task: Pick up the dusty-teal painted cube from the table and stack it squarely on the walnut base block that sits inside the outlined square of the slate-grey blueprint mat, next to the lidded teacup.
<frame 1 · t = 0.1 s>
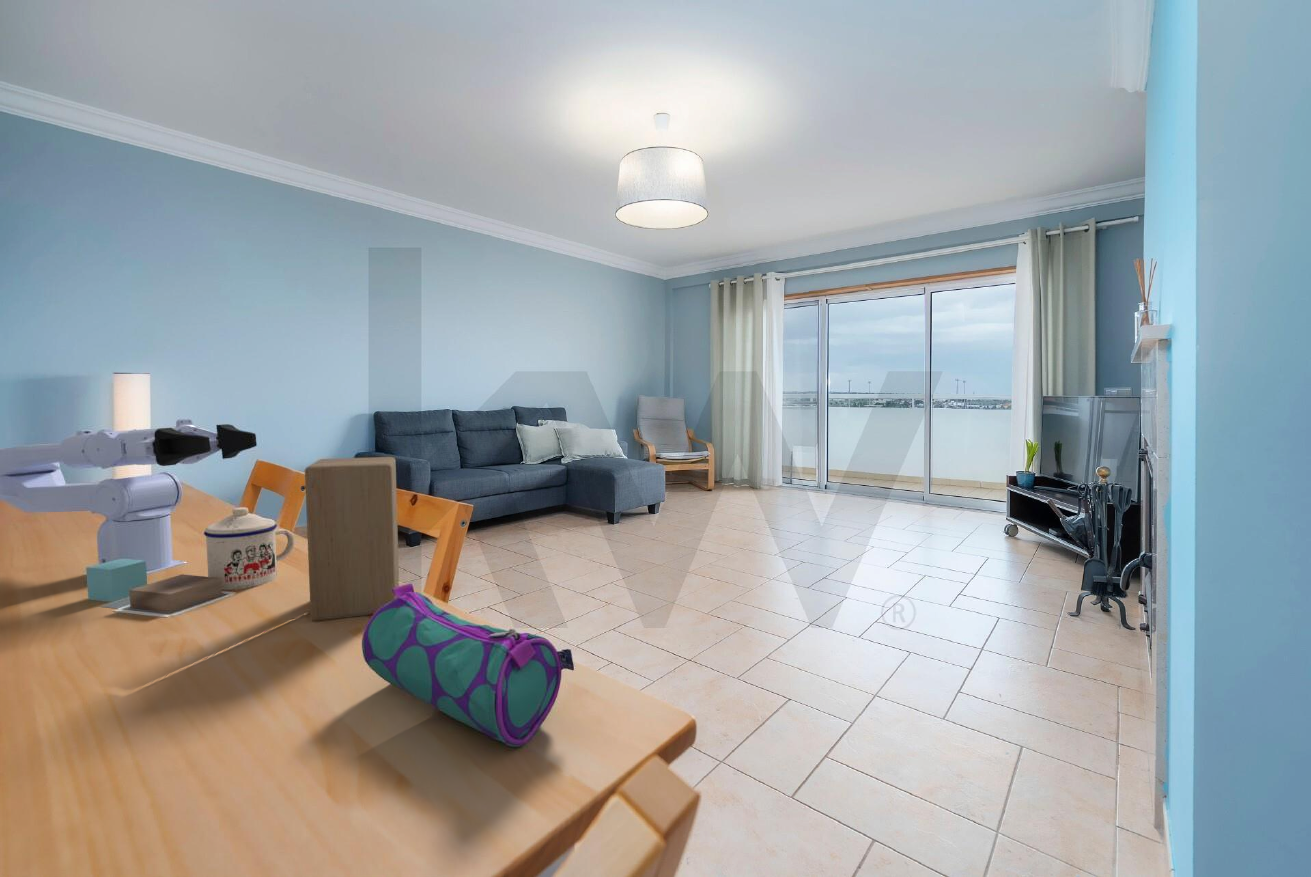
hand: (231, 442, 91), 22 cm above the table, tool horizontal, fingers open, 7 cm apart
teal cube: (118, 598, 84), on the table
teacup with lid: (254, 582, 92), on the table
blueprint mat: (166, 603, 82), on the table
wooden block: (358, 606, 82), on the table
walnut base: (177, 601, 82), resting on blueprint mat
pencil case: (461, 708, 56), on the table
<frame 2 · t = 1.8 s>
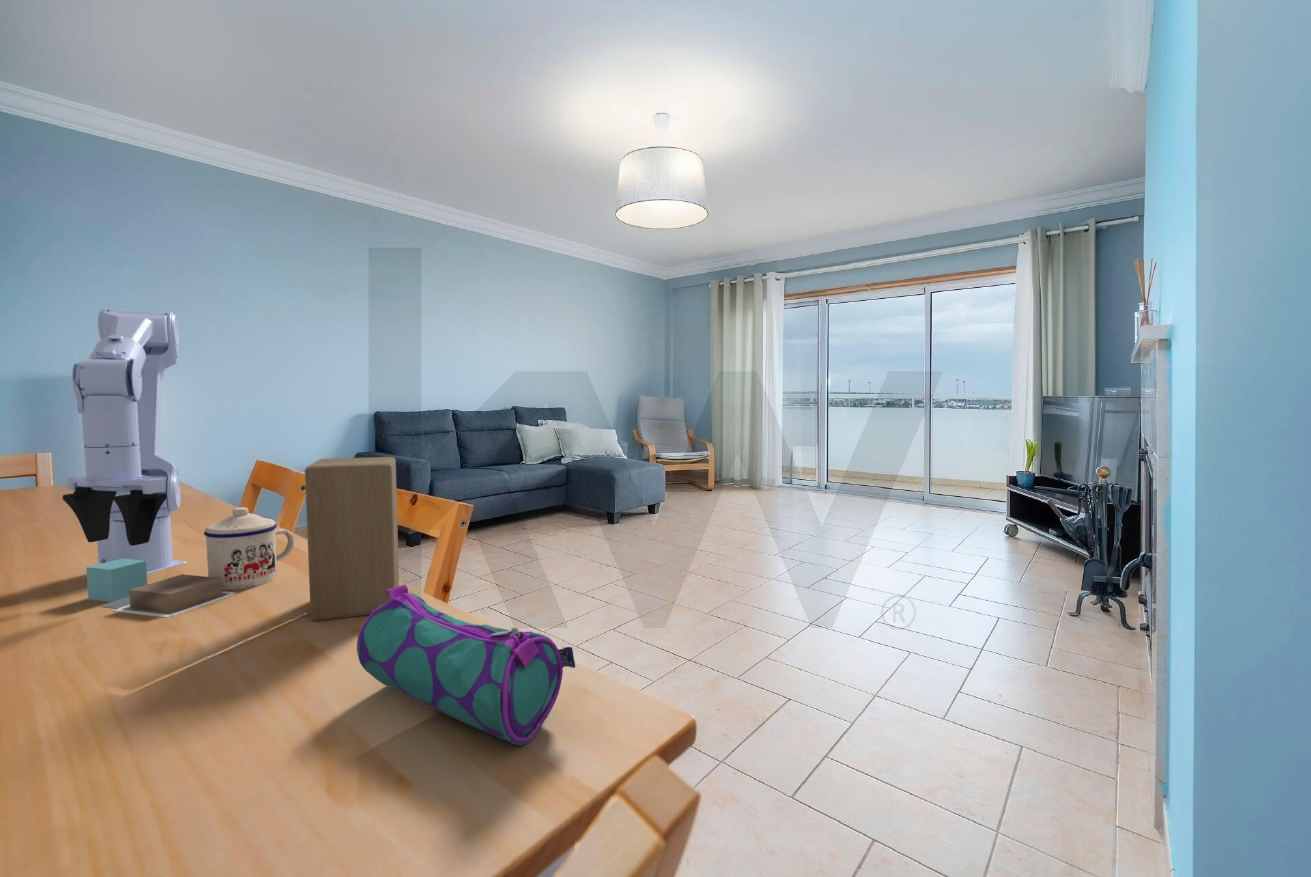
hand: (118, 542, 83), 8 cm above the table, tool pointing down, fingers open, 7 cm apart
nothing on the table moved.
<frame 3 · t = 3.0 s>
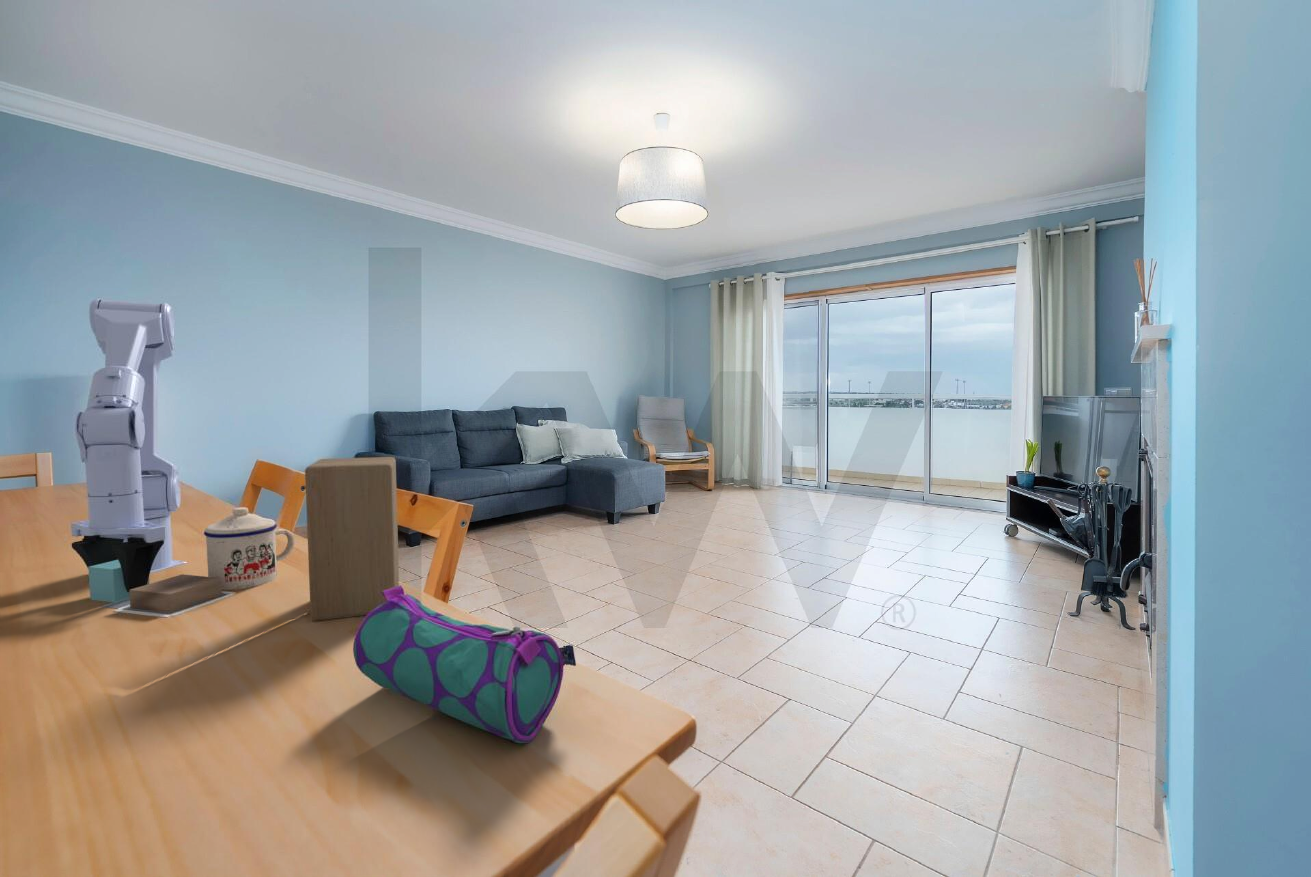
hand: (121, 588, 84), 1 cm above the table, tool pointing down, fingers open, 5 cm apart
teal cube: (120, 598, 84), on the table, touching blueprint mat, gripper
everything else where it was.
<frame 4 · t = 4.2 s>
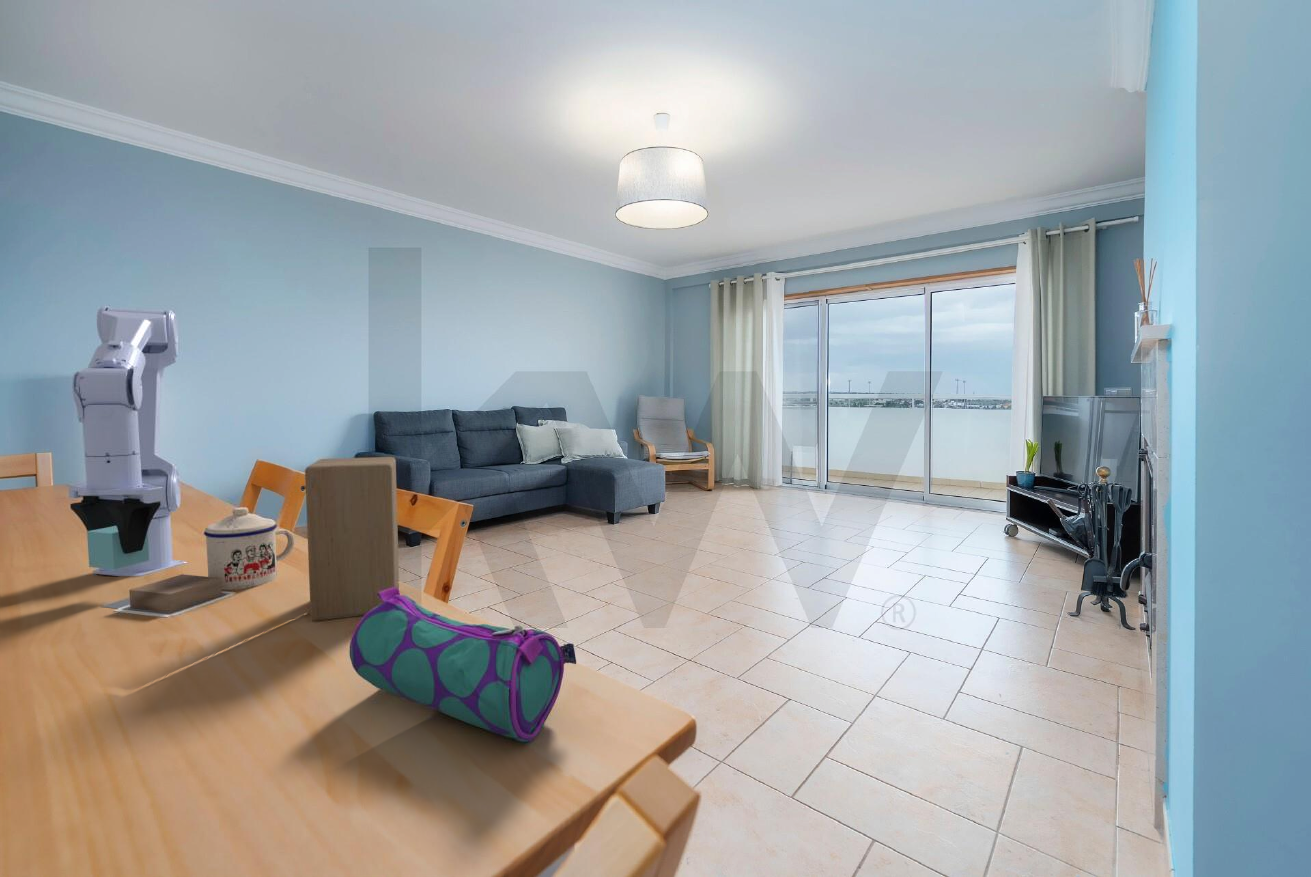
hand: (119, 550, 84), 7 cm above the table, tool pointing down, fingers closed on teal cube, 4 cm apart
teal cube: (119, 563, 84), point 5 cm above the table, touching gripper
everything else where it was.
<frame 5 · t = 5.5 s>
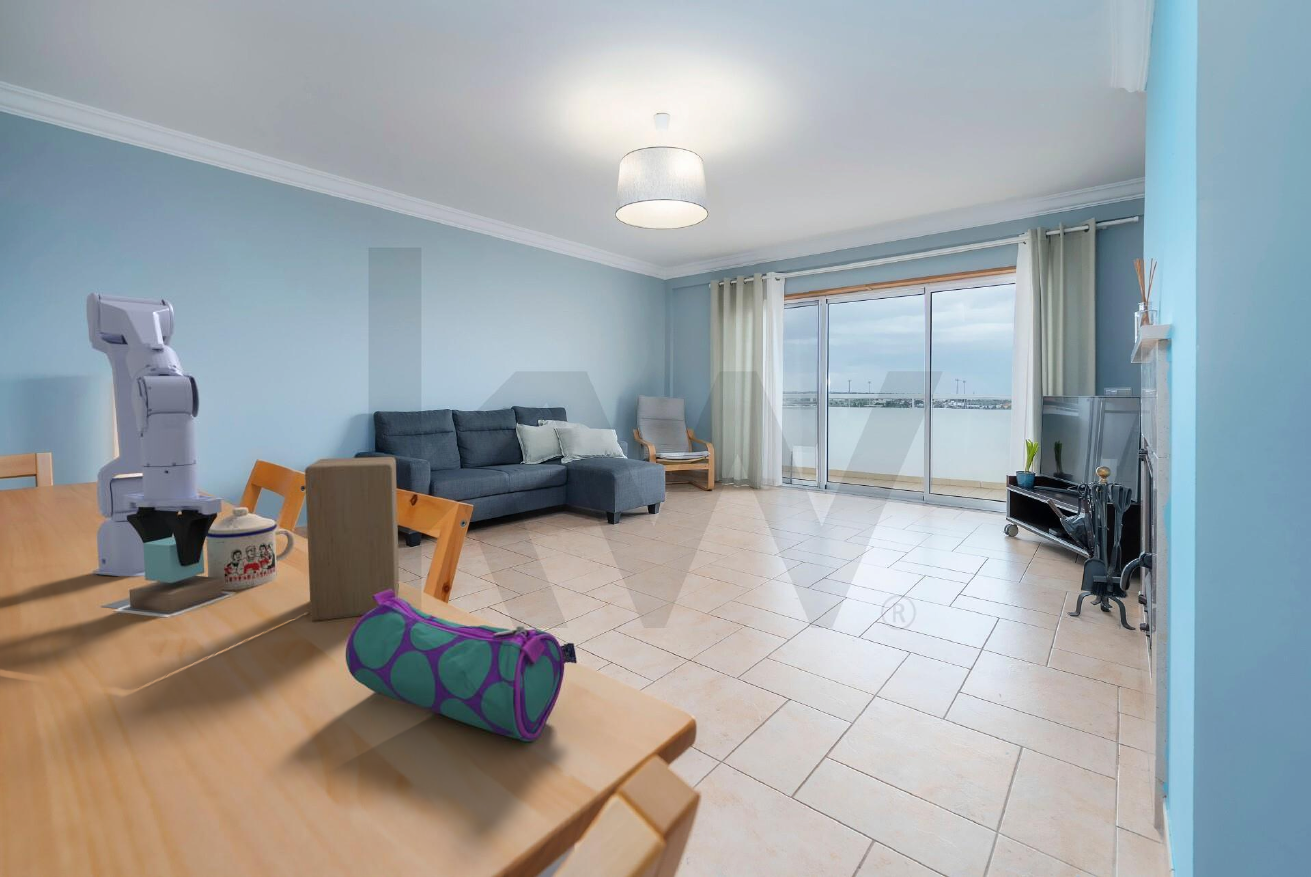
hand: (175, 563, 81), 6 cm above the table, tool pointing down, fingers closed on teal cube, 4 cm apart
teal cube: (175, 576, 81), point 4 cm above the table, touching gripper
when the fingers open (5 cm above the table, at t = 6.4 s): teal cube stays where it is, resting on walnut base.
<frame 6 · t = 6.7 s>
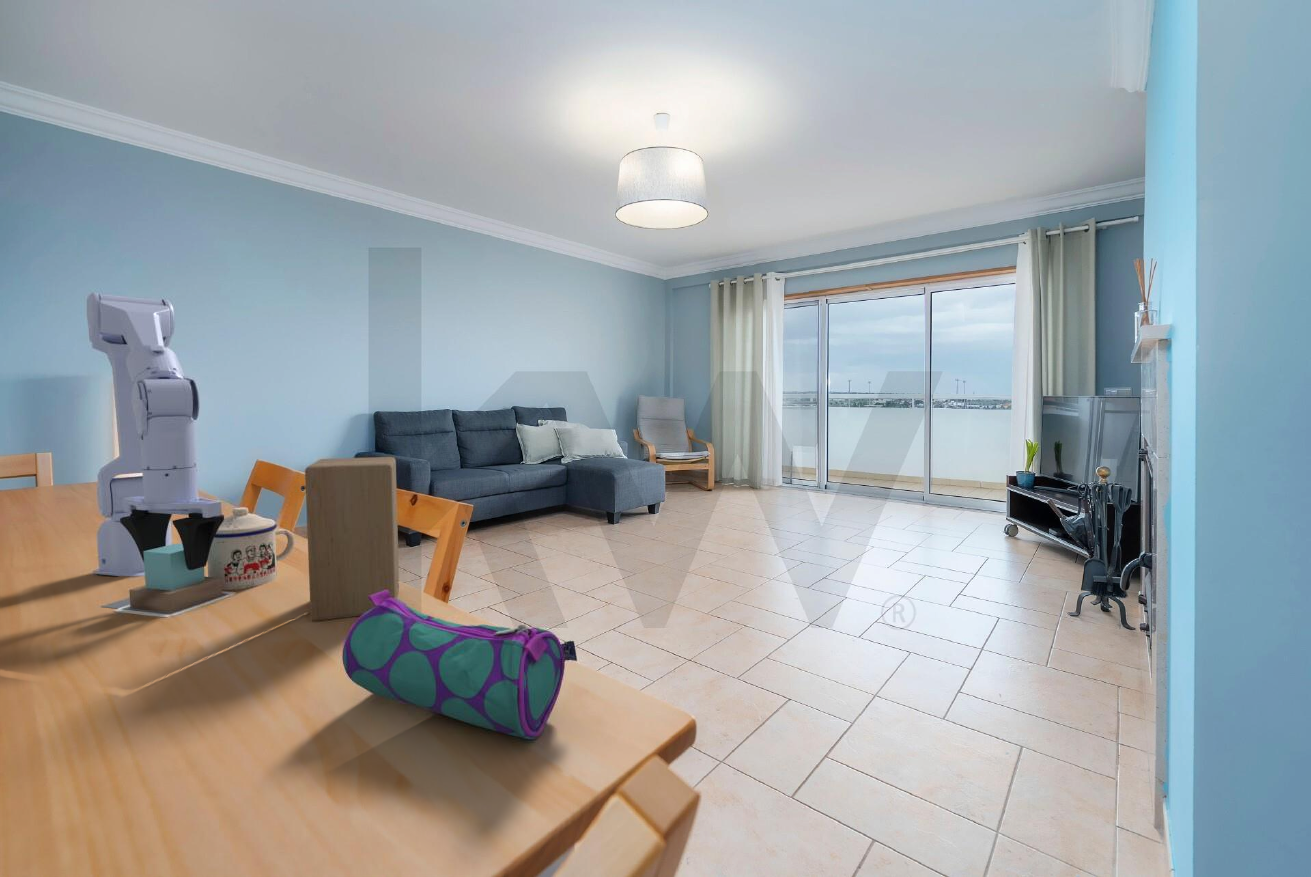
hand: (175, 565, 81), 5 cm above the table, tool pointing down, fingers open, 7 cm apart
teal cube: (175, 584, 81), point 3 cm above the table, touching walnut base
walnut base: (177, 601, 82), resting on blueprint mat, touching teal cube
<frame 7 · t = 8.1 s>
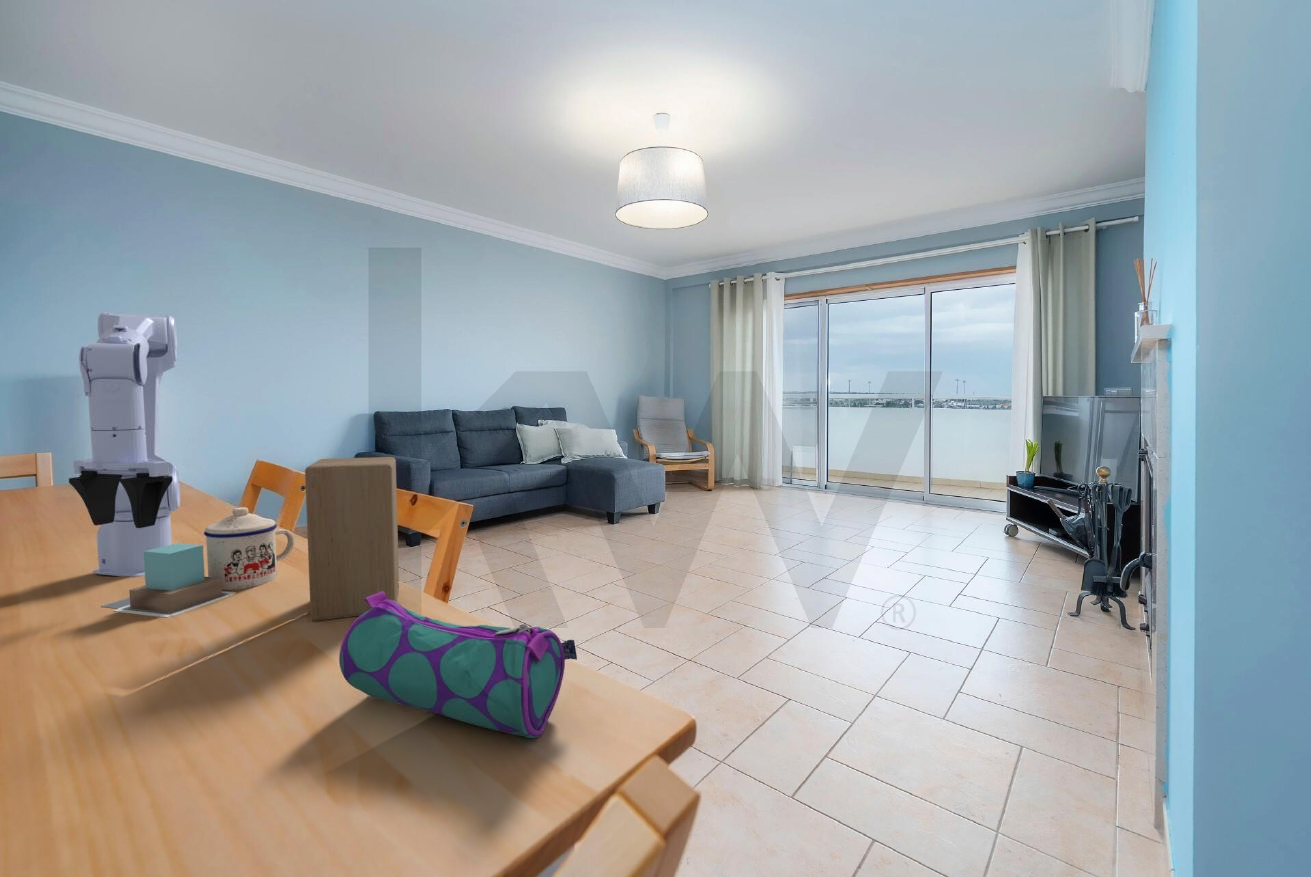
hand: (124, 525, 84), 10 cm above the table, tool pointing down, fingers open, 7 cm apart
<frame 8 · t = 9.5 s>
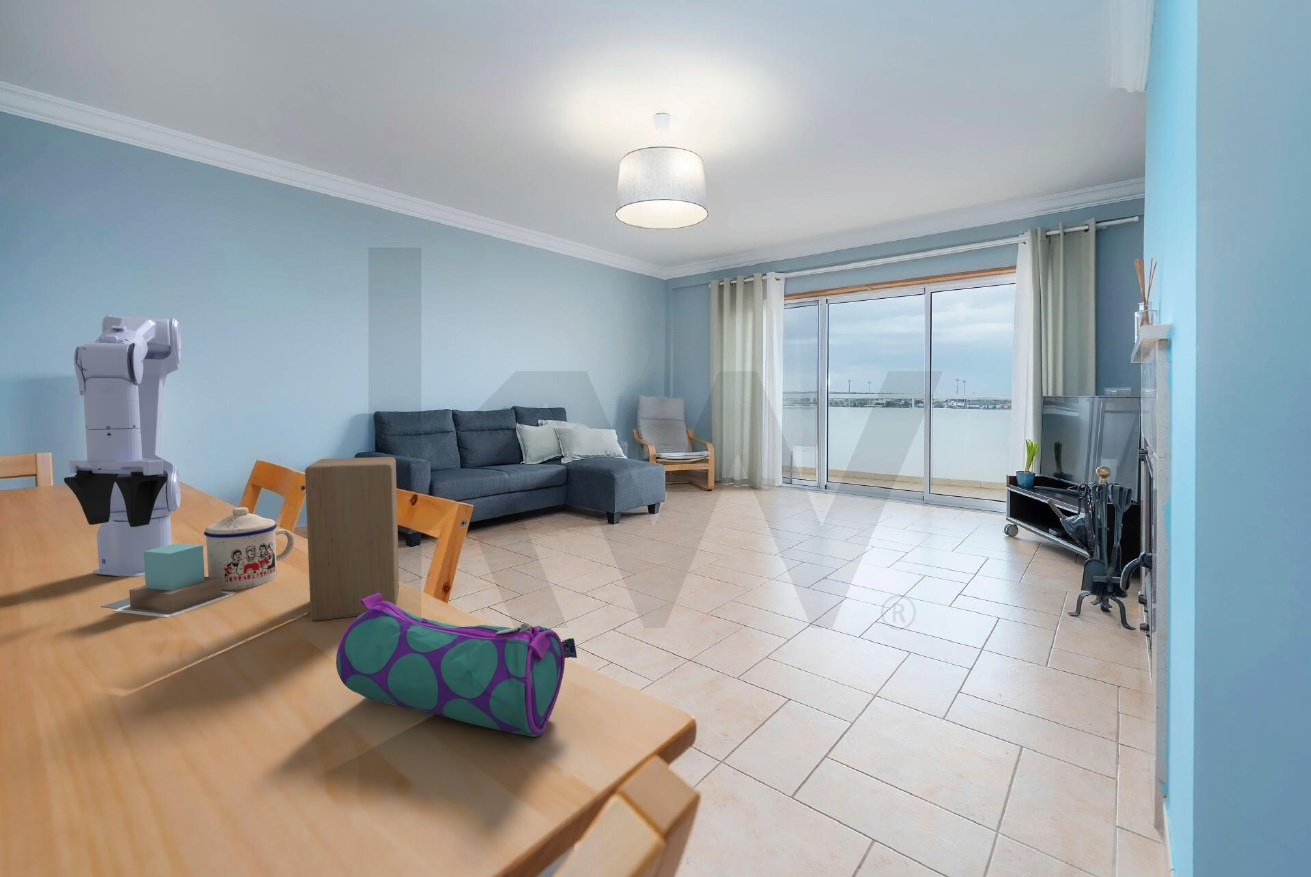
hand: (119, 524, 84), 10 cm above the table, tool pointing down, fingers open, 7 cm apart
at the end: teal cube 0.1 cm off-centre on the walnut base, point 2.5 cm above the walnut base's base; teal cube tilted 0°; teal cube touching walnut base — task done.
